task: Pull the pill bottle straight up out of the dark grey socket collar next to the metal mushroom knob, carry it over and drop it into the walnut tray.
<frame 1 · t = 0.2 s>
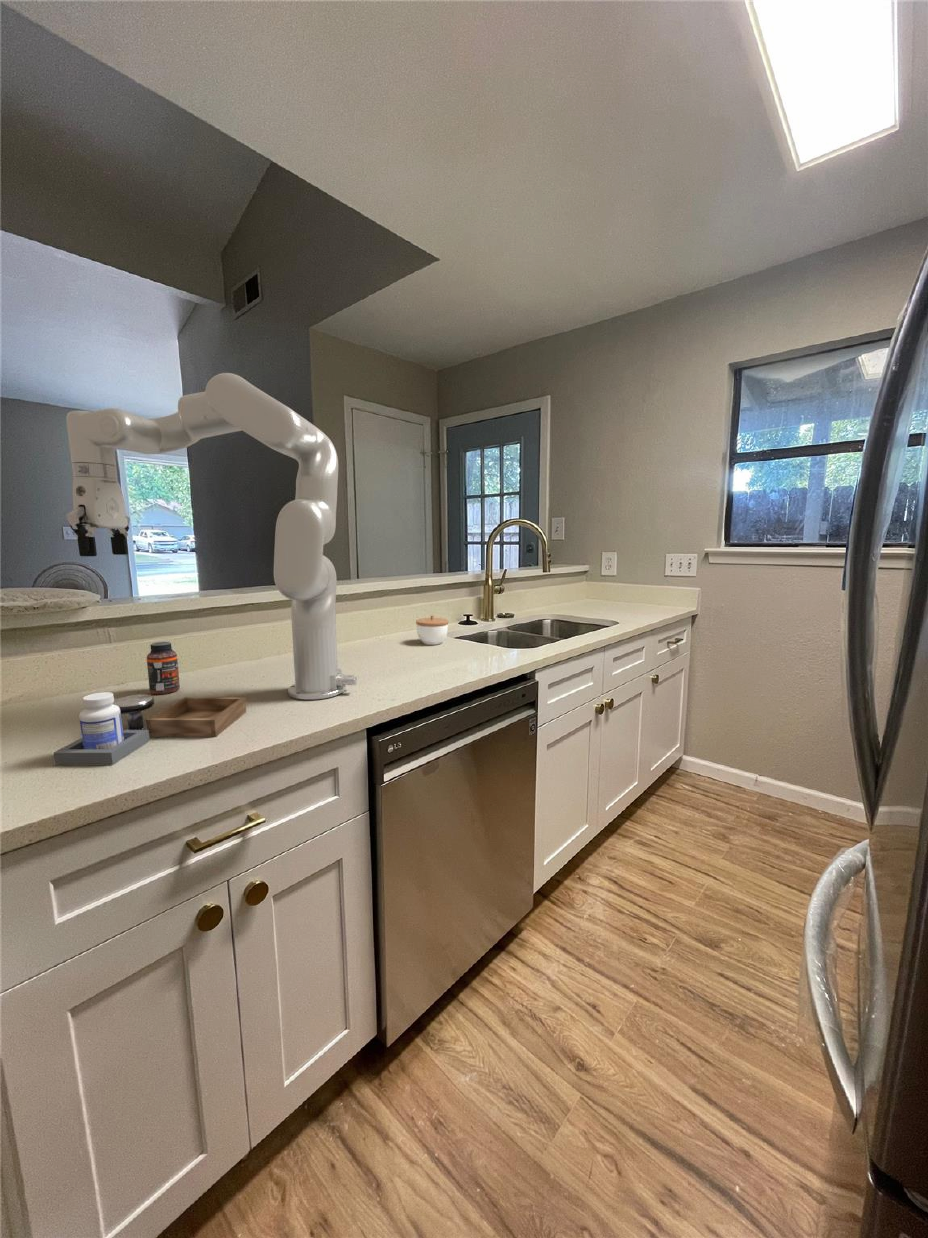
hand: (105, 555, 106), 31 cm above the counter, fingers open, 9 cm apart
pill bottle: (105, 753, 80), resting in socket collar
socket collar: (105, 752, 80), on the counter
lidded jar: (432, 643, 163), on the counter
metal mushroom knob: (136, 728, 90), on the counter
tray: (200, 723, 93), on the counter
supplement bottle: (165, 692, 112), on the counter
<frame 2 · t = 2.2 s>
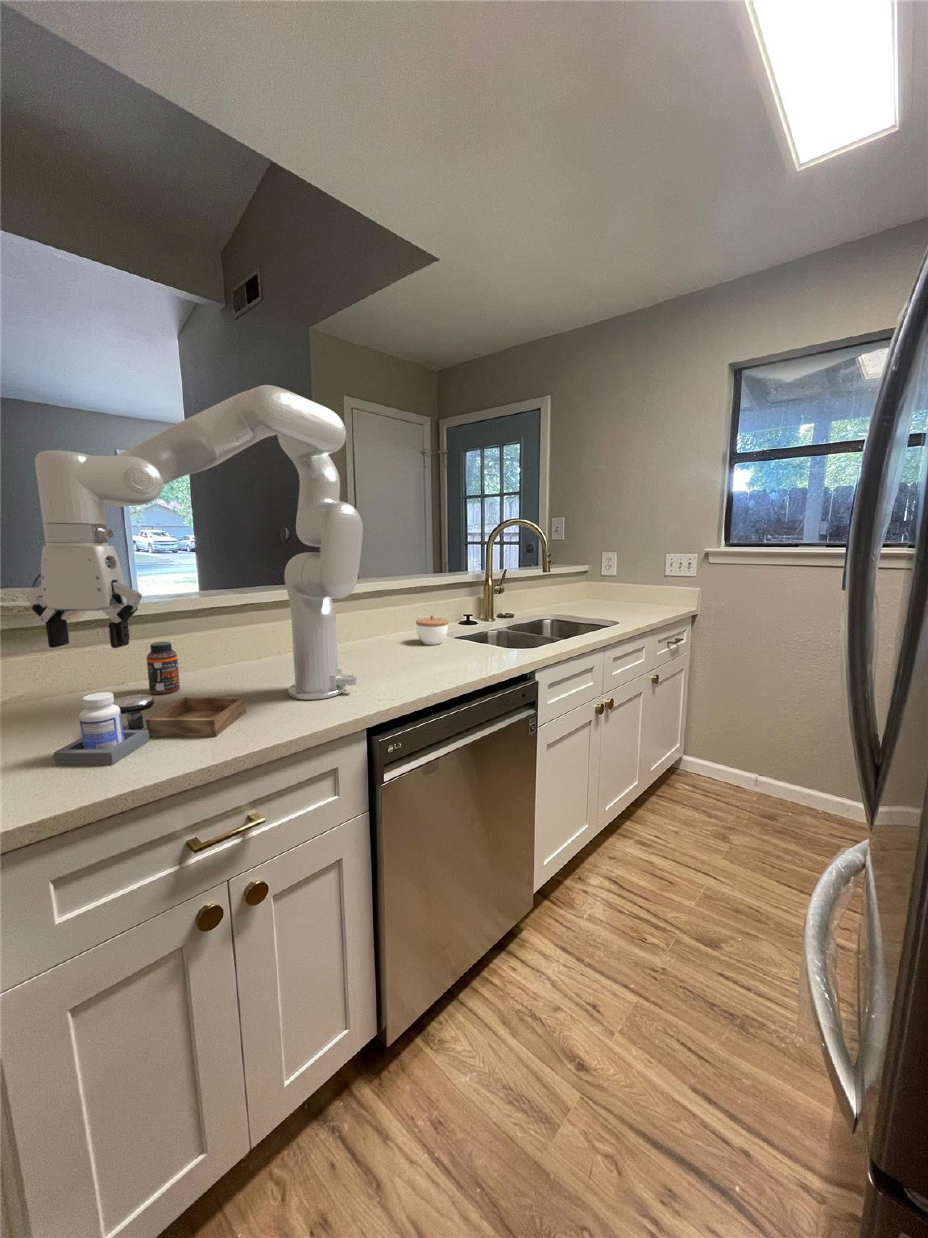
hand: (90, 646, 77), 18 cm above the counter, fingers open, 9 cm apart
nothing on the counter moved.
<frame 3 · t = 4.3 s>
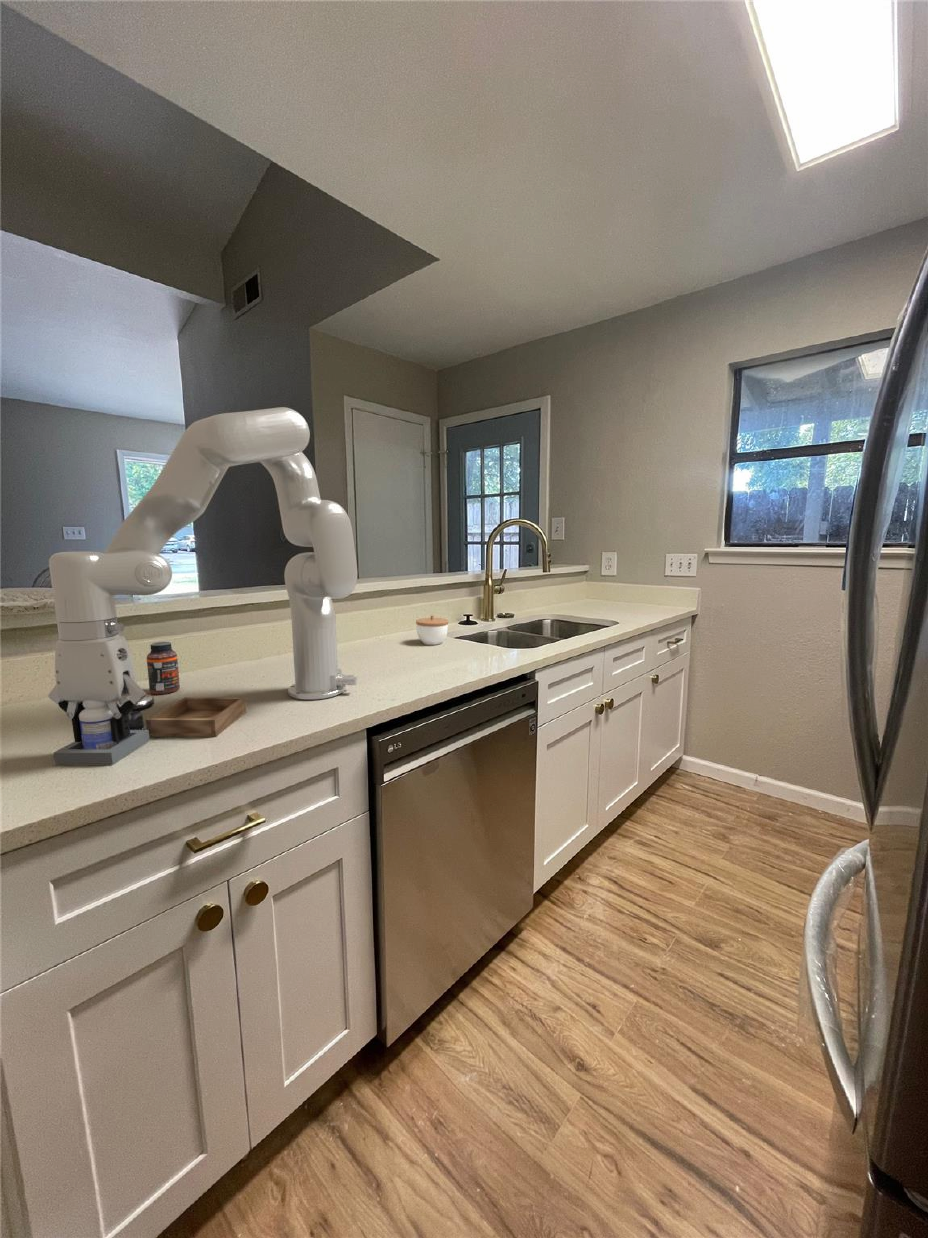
hand: (102, 737, 80), 3 cm above the counter, fingers closed on pill bottle, 5 cm apart
pill bottle: (105, 753, 80), resting in socket collar, touching gripper
everything else where it was.
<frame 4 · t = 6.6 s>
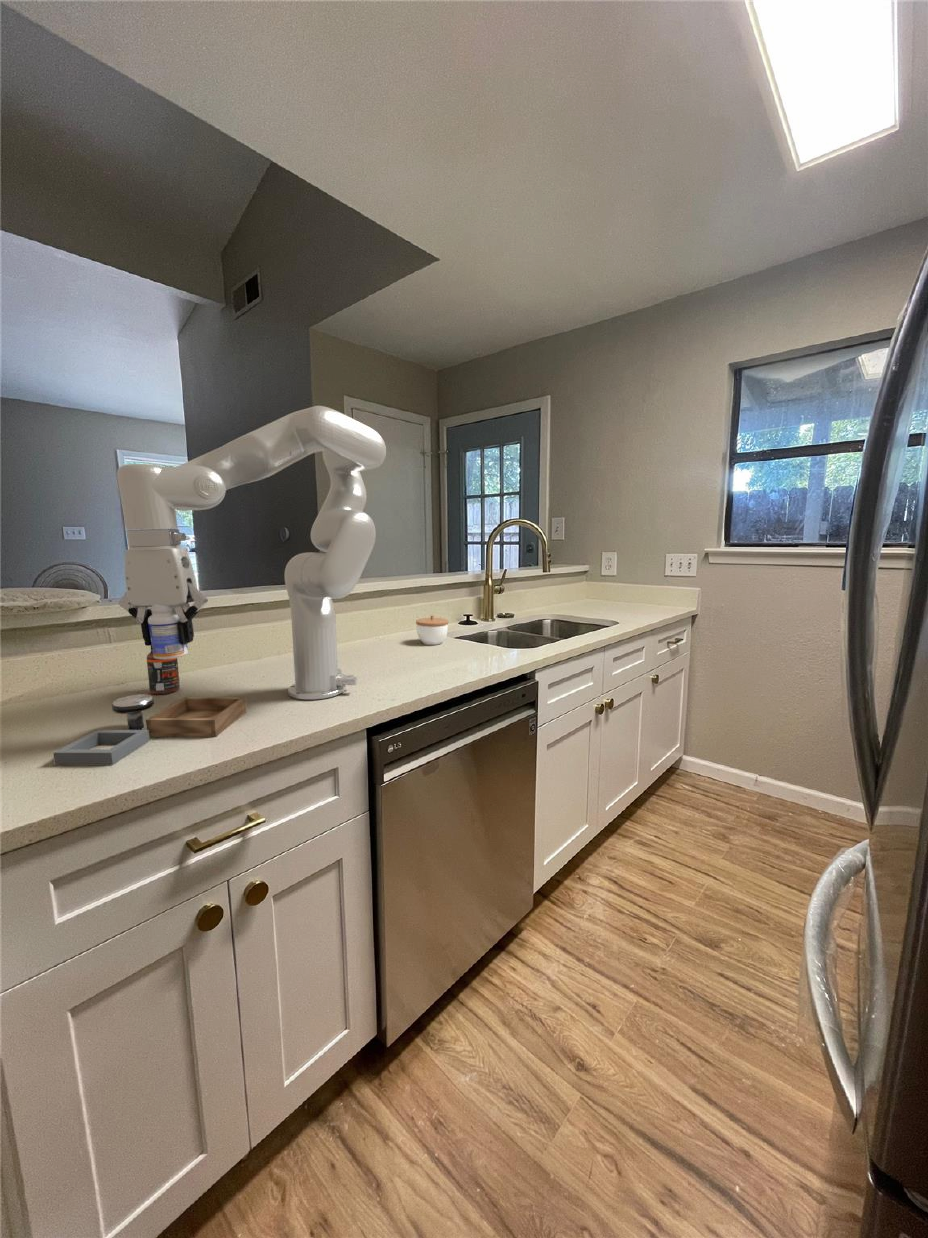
hand: (169, 642, 87), 17 cm above the counter, fingers closed on pill bottle, 5 cm apart
pill bottle: (171, 657, 87), point 14 cm above the counter, touching gripper
everything else where it was.
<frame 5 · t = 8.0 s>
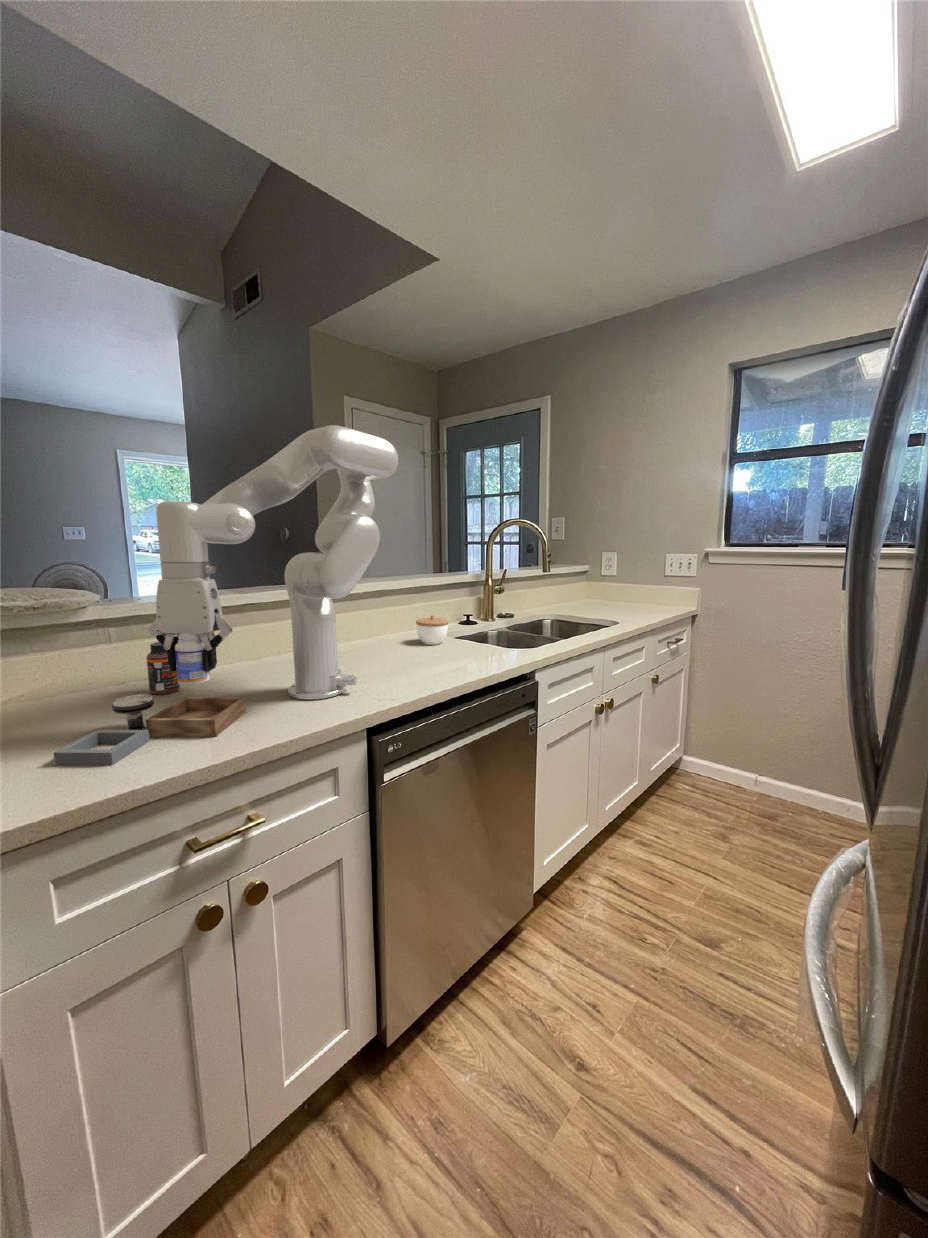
hand: (193, 668, 90), 11 cm above the counter, fingers closed on pill bottle, 5 cm apart
pill bottle: (194, 682, 91), point 8 cm above the counter, touching gripper
everything else where it was.
when the fingers open (5 cm above the counter, at t = 9.3 s): pill bottle drops 2 cm, resting on tray.
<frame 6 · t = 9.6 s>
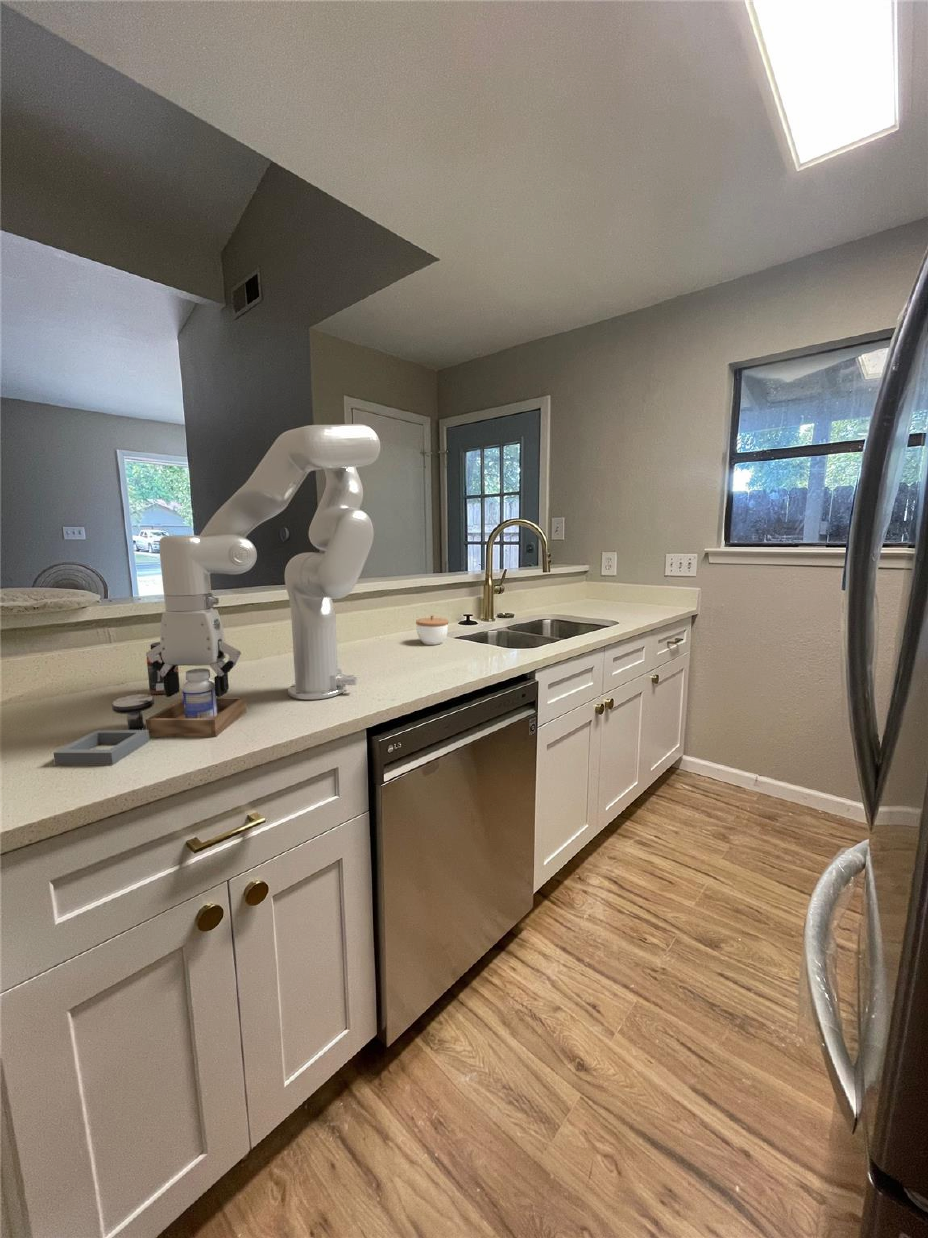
hand: (197, 694, 92), 6 cm above the counter, fingers open, 8 cm apart
pill bottle: (202, 721, 93), resting on tray
everything else where it was.
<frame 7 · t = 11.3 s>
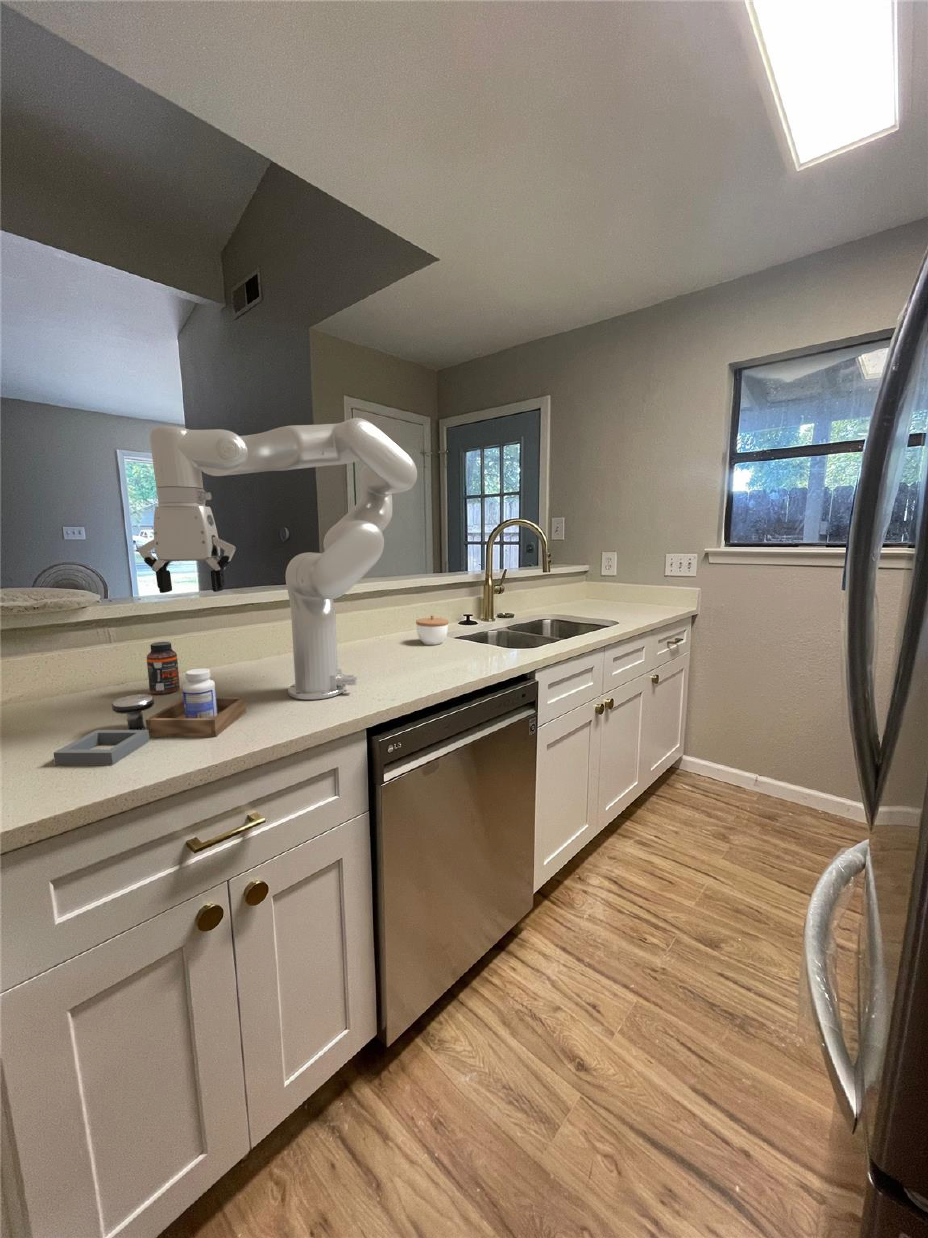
hand: (192, 591, 92), 25 cm above the counter, fingers open, 9 cm apart
nothing on the counter moved.
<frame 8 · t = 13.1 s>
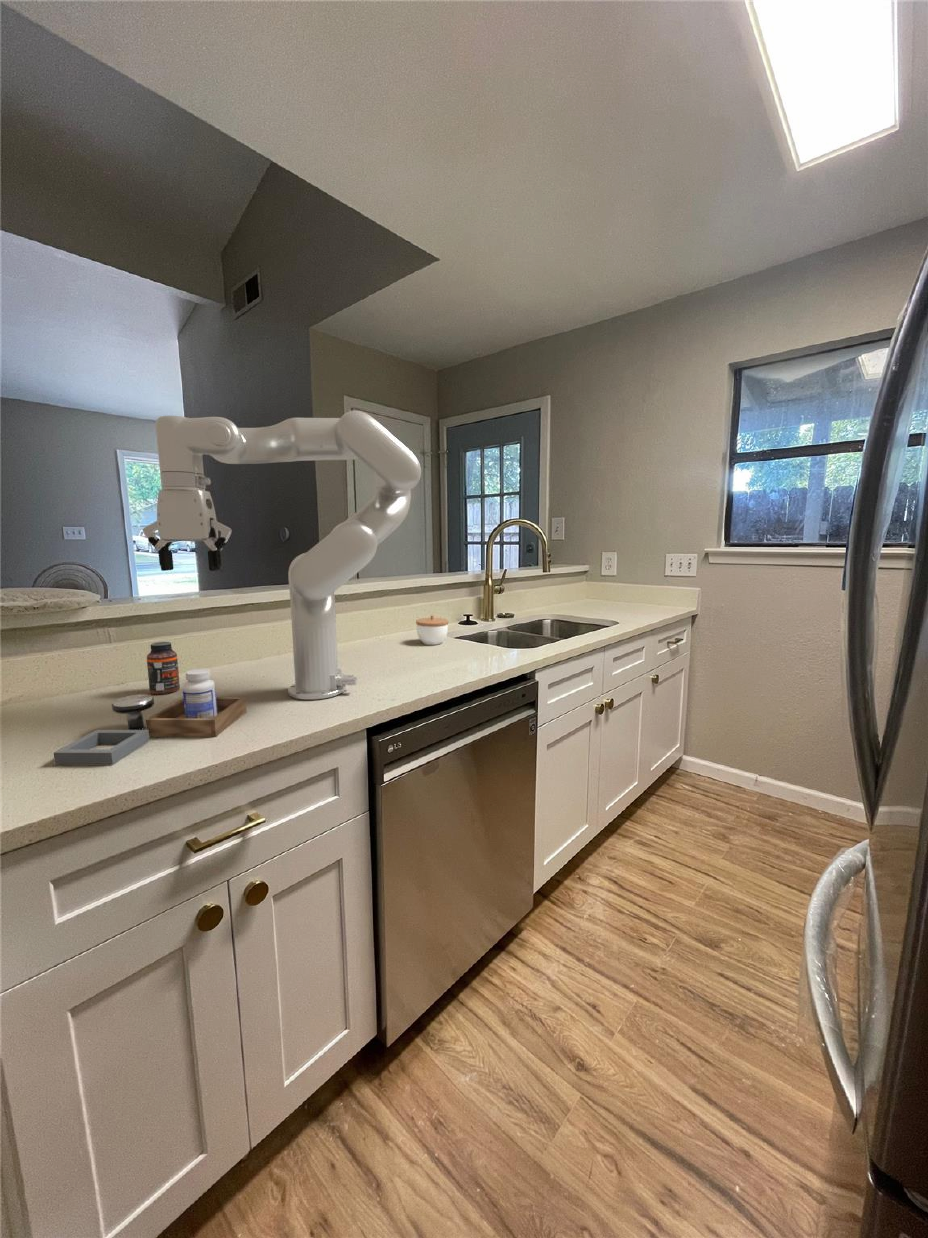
hand: (191, 570, 99), 28 cm above the counter, fingers open, 9 cm apart
nothing on the counter moved.
at the end: pill bottle inside the target area on the tray (0.4 cm from its centre), point 0.4 cm above the tray's base; the gripper is holding nothing; pill bottle touching tray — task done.
